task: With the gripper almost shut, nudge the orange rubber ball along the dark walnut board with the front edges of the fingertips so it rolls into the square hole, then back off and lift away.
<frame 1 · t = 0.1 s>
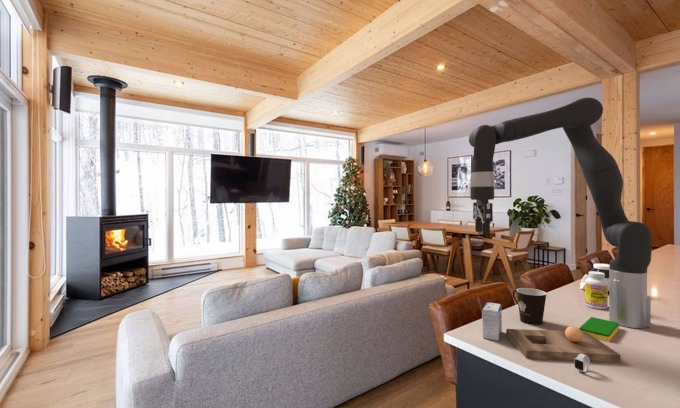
hand: (482, 233, 112), 29 cm above the kitchen island, tool pointing down, fingers open, 8 cm apart
medicine box: (492, 335, 99), on the kitchen island
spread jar: (597, 291, 142), on the kitchen island
walnut board: (558, 347, 90), on the kitchen island
supplement bottle: (596, 307, 123), on the kitchen island
smartwatch: (582, 372, 78), on the kitchen island
dish sponge: (599, 333, 101), on the kitchen island
coffee mug: (529, 320, 111), on the kitchen island
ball: (573, 334, 90), point 4 cm above the kitchen island, touching walnut board
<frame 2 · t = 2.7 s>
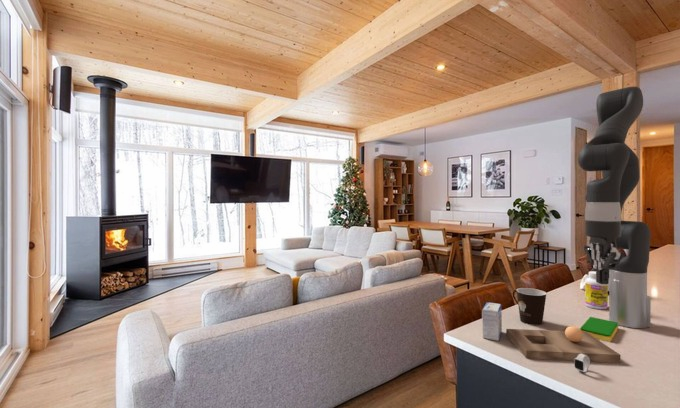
hand: (602, 283, 88), 18 cm above the kitchen island, tool pointing down, fingers closed
nothing on the kitchen island moved.
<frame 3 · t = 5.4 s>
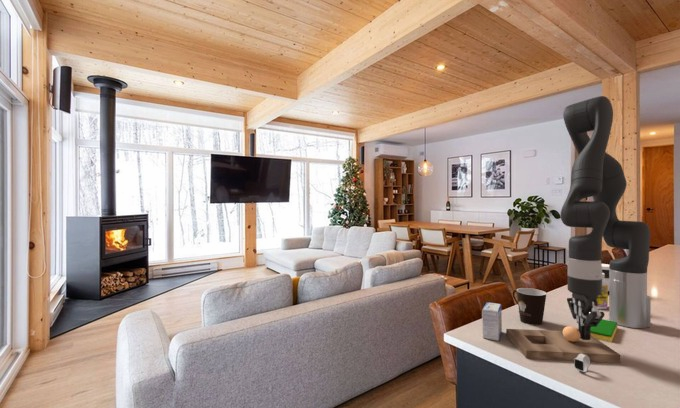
hand: (584, 338, 89), 3 cm above the kitchen island, tool pointing down, fingers closed
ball: (571, 333, 90), point 4 cm above the kitchen island, tilted 16°, touching walnut board
everything else where it was.
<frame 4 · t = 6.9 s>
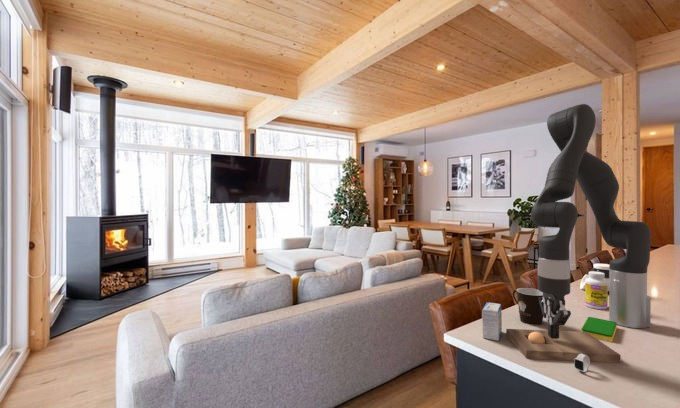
hand: (553, 337, 90), 3 cm above the kitchen island, tool pointing down, fingers closed
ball: (536, 339, 91), point 2 cm above the kitchen island, tilted 97°
everything else where it was.
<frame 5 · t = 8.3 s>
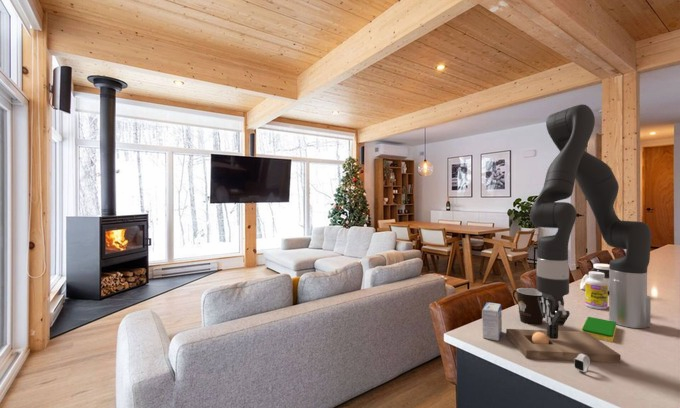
hand: (552, 337, 90), 3 cm above the kitchen island, tool pointing down, fingers closed
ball: (540, 339, 91), point 2 cm above the kitchen island, tilted 127°
everything else where it was.
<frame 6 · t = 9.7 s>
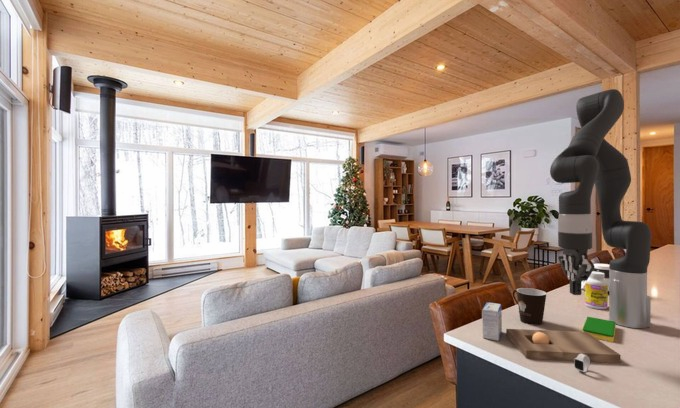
hand: (575, 294, 89), 15 cm above the kitchen island, tool pointing down, fingers closed
nothing on the kitchen island moved.
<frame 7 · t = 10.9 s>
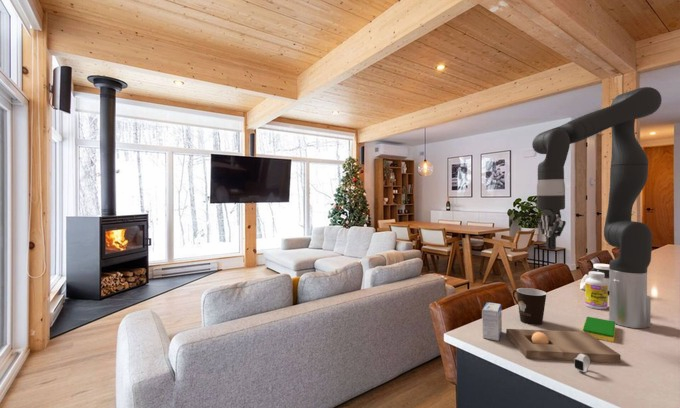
hand: (550, 249, 104), 25 cm above the kitchen island, tool pointing down, fingers closed
nothing on the kitchen island moved.
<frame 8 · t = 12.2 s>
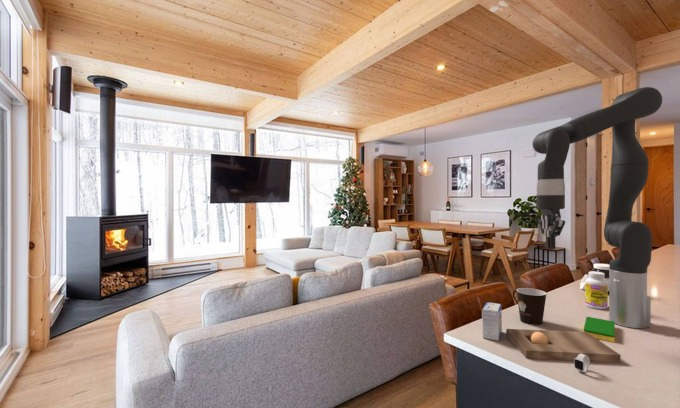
hand: (550, 248, 104), 25 cm above the kitchen island, tool pointing down, fingers closed
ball: (539, 339, 91), point 2 cm above the kitchen island, tilted 119°
everything else where it was.
at the end: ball 0.2 cm from the target spot on the walnut board, point 2.0 cm above the walnut board's base; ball point 2.0 cm above the kitchen island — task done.
